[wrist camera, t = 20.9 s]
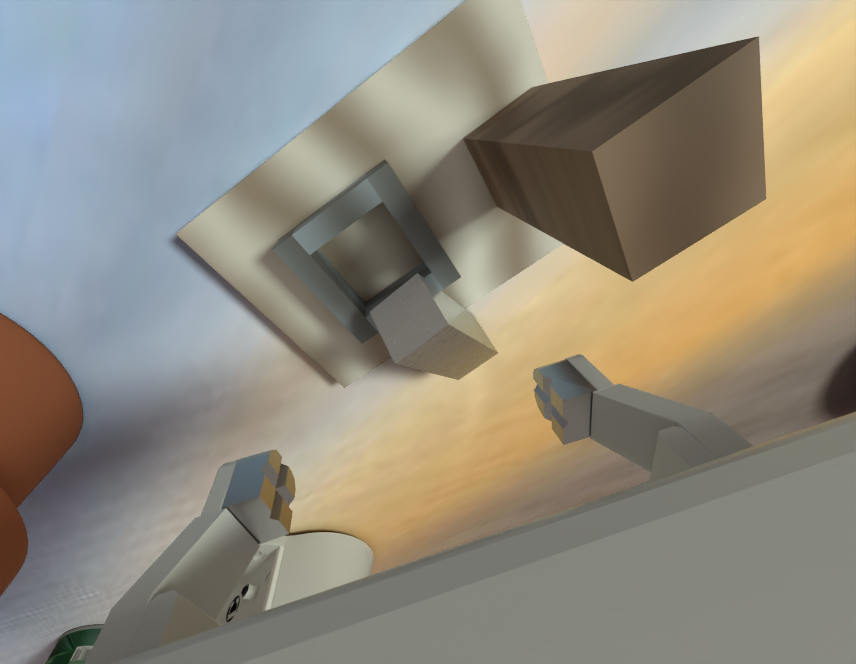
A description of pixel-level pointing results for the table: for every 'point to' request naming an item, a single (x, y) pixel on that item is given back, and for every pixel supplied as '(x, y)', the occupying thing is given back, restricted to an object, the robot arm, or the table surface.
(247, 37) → the table surface
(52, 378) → the potted cactus
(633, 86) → the socket board with post
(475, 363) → the gray rectangular block
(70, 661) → the canned tomato
